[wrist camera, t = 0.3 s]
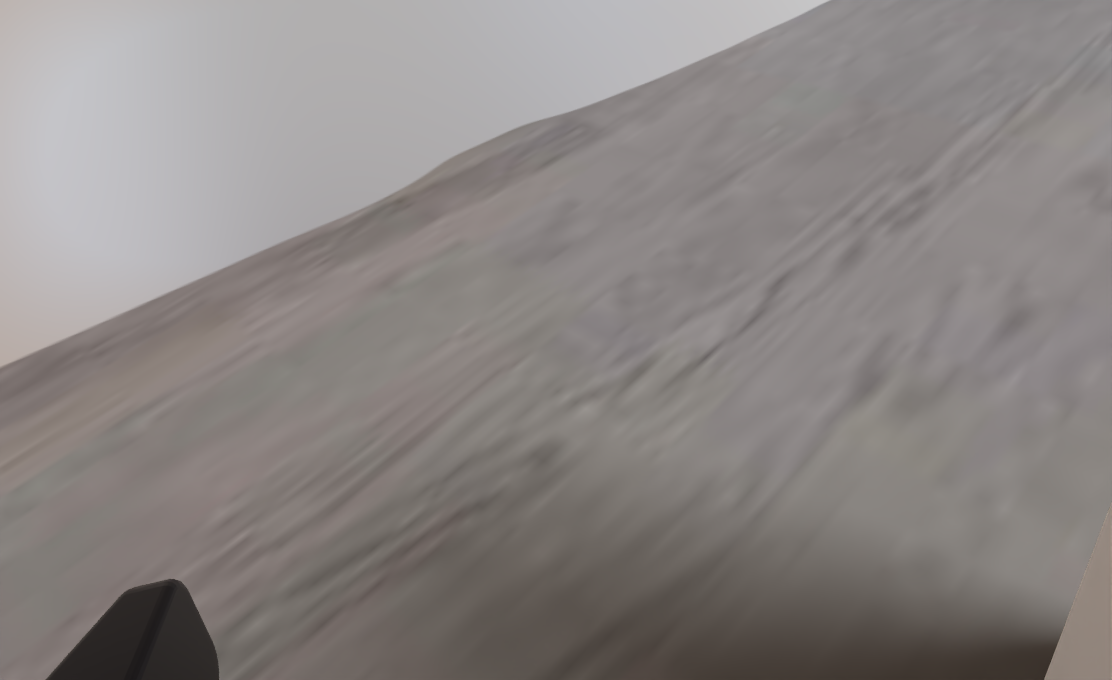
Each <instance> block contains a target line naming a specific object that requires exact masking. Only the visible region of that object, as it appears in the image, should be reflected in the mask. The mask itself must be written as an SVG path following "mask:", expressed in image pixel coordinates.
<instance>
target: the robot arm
mask: <svg viewBox="0 0 1112 680" xmlns="http://www.w3.org/2000/svg"><path fill="white" fill-rule="evenodd" d="M46 680H219V666H218V659H217V653H216V650H215V646H214V644H213V642H212V639H211V637H210V635H209V633H208V631H207V629H206V627H205V625H204V623H203V621H202V618H201V616H200V614H199V612H198V610H197V608H196V606H195V604H194V602H193V600H192V597H191V595H190V593H189V591H188V590H187V588H186V587H185V585H184V584H183V583H182V582H181V581H178V580H175V579H168V580H164V581H159V582H155V583H151V584H146V585H142V586H138V587H134V588H132V589H129V590H127V591H126V592H124V593H123V594H122V595H121V596H120V597H119V598H118V599H117V600H116V601H115V603H114V604H113V605H112V606H111V607H110V608H109V609H108V610H107V612H106V613H105V614H104V615H103V616H102V617H101V618H100V619H99V620H98V622H97V623H96V624H95V625H94V626H93V627H92V628H91V629H90V631H89V632H88V633H87V634H86V635H85V636H84V637H83V638H82V640H81V641H80V642H79V643H78V644H77V645H76V646H75V647H74V649H73V650H72V651H71V652H70V653H69V654H68V655H67V656H66V657H65V659H64V660H63V661H62V662H61V663H60V664H59V665H58V666H57V668H56V669H55V670H54V671H53V672H52V673H51V674H50V675H49V677H48V678H47V679H46Z"/></svg>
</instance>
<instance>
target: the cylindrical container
mask: <svg viewBox="0 0 1112 680" xmlns="http://www.w3.org/2000/svg"><path fill="white" fill-rule="evenodd" d="M1044 680H1112V502H1111V505H1110V507H1109V510H1108V513H1107V515H1106V518H1105V521H1104V523H1103V526H1102V528H1101V531H1100V534H1099V536H1098V539H1097V542H1096V544H1095V547H1094V550H1093V552H1092V555H1091V557H1090V560H1089V563H1088V565H1087V568H1086V571H1085V573H1084V576H1083V578H1082V581H1081V584H1080V586H1079V589H1078V592H1077V594H1076V597H1075V599H1074V602H1073V605H1072V607H1071V610H1070V613H1069V615H1068V618H1067V621H1066V623H1065V626H1064V628H1063V631H1062V634H1061V636H1060V639H1059V642H1058V644H1057V647H1056V649H1055V652H1054V655H1053V657H1052V660H1051V663H1050V665H1049V668H1048V671H1047V673H1046V676H1045V678H1044Z"/></svg>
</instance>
